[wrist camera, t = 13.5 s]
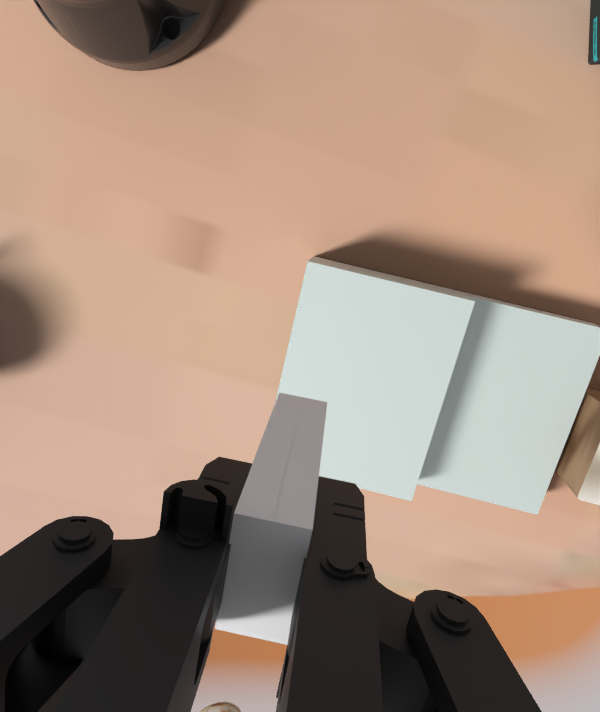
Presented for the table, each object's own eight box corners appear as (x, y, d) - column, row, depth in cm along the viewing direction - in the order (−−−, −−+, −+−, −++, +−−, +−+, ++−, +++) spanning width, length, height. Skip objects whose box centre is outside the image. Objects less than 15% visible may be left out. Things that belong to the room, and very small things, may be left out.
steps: (313, 256, 43) (307, 261, 37) (590, 322, 42) (631, 338, 36) (273, 432, 47) (261, 463, 41) (524, 495, 46) (551, 536, 40)
